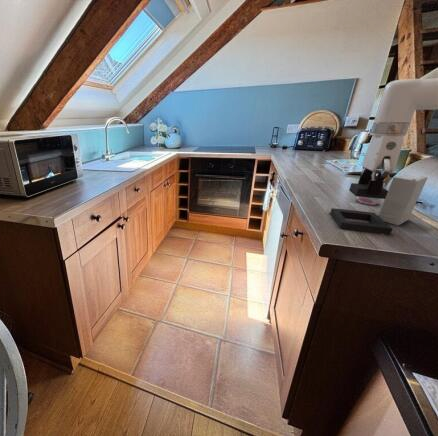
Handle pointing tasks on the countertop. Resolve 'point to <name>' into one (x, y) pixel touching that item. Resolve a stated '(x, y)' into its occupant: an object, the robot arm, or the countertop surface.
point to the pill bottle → (369, 199)
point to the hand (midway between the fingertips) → (367, 190)
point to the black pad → (361, 189)
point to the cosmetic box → (401, 198)
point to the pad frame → (374, 227)
